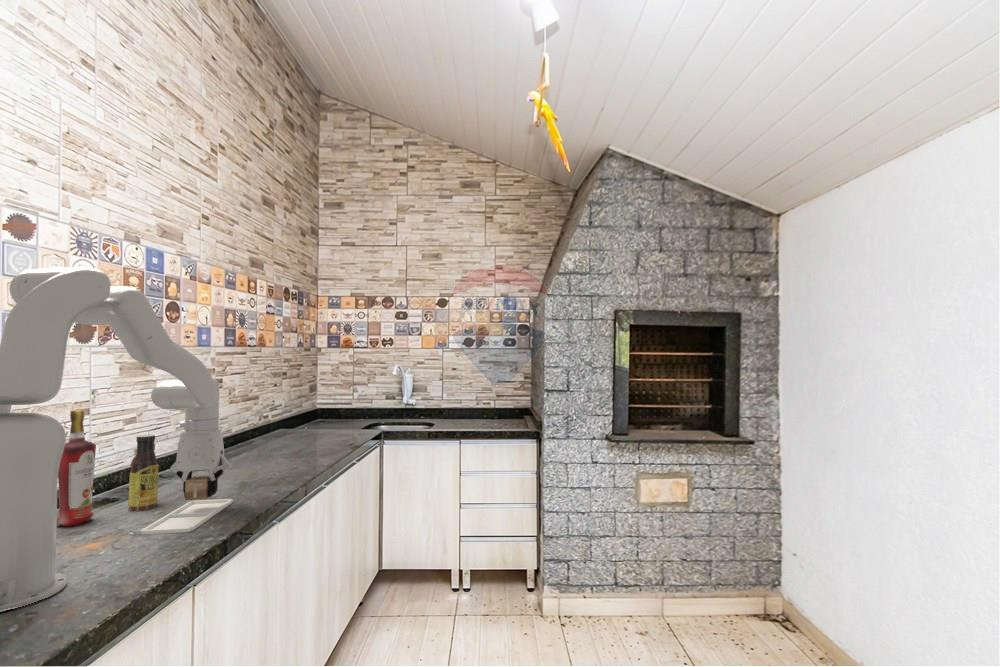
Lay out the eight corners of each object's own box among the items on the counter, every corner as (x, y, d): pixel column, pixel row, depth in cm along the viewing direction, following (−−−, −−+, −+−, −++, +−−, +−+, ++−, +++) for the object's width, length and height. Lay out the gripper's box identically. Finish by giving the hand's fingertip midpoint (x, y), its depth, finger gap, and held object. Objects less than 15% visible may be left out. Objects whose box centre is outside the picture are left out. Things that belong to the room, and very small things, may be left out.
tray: (190, 535, 108) (190, 528, 108) (138, 538, 107) (139, 531, 107) (233, 504, 130) (233, 498, 130) (191, 506, 129) (191, 500, 129)
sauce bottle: (141, 515, 123) (142, 438, 123) (121, 513, 124) (123, 437, 125) (164, 506, 129) (164, 433, 130) (145, 505, 130) (146, 433, 131)
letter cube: (205, 499, 121) (205, 479, 121) (184, 500, 121) (185, 479, 121) (215, 494, 126) (215, 474, 127) (195, 494, 126) (195, 475, 126)
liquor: (78, 517, 122) (80, 408, 123) (102, 518, 120) (104, 408, 121) (46, 527, 114) (49, 412, 115) (71, 529, 113) (74, 412, 114)
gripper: (158, 428, 120) (156, 501, 119) (229, 426, 122) (228, 498, 121) (175, 424, 127) (173, 493, 126) (242, 423, 129) (240, 490, 128)
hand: (200, 494), depth 124 cm, fingers closed on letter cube, 4 cm apart
